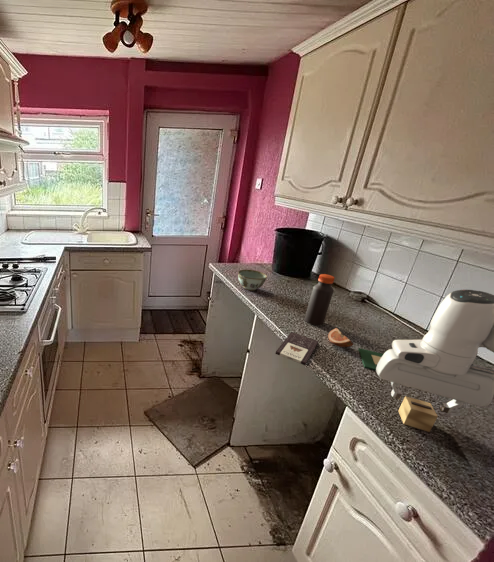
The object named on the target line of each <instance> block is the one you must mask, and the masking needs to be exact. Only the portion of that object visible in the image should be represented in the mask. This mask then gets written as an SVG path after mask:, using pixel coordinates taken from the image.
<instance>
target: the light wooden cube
mask: <svg viewBox="0 0 494 562" xmlns="http://www.w3.org/2000/svg"><path fill="white" fill-rule="evenodd" d="M397 412H398V414H399V416H400V418H401V422H402V423H403V425H405V426H408V427H410V428H411V427H412V428H415V429H418V430H421V431H424V432H427V433H430V432H431V430H432V429H433V427H434V425H435V423H436V421H437V419H438V417H439V416H438V413H437V412H436V411H435V409H434V407H433V405H432V403H430V402H428V401H427V402H426V401H425V400H420V399H417V398H413V397H409V396H404V397H403V400H402V402H401V404H400V407H399V409H398V411H397Z"/></svg>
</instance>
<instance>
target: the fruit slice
mask: <svg viewBox="0 0 494 562" xmlns="http://www.w3.org/2000/svg"><path fill="white" fill-rule="evenodd" d="M327 338H328V340H329V342H330V343H331V344H333V346H336V347H340V348H350V347H352V346H354V343H353V342H352V341H351V339H350V338H348V337H347V336H346V335H345V334H343V332H342V331H340V329H338V328H337V327H335V328H334V329H333V328H332V329H331V330H330V331H329V332H328V334H327Z"/></svg>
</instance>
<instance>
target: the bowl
mask: <svg viewBox="0 0 494 562" xmlns="http://www.w3.org/2000/svg"><path fill="white" fill-rule="evenodd" d="M237 274H238V275H237V279H238V283H239V284H240V285H241V286H242V287H243V289H244V290H247V291H251V292H254V291H256V290H257V289H260V288H261V287H263V286H264V284H265V283H266V280H267V278H268V275H267V274H266V273H264V272H262V271H260V270H254V269H239V270H238V271H237Z"/></svg>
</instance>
